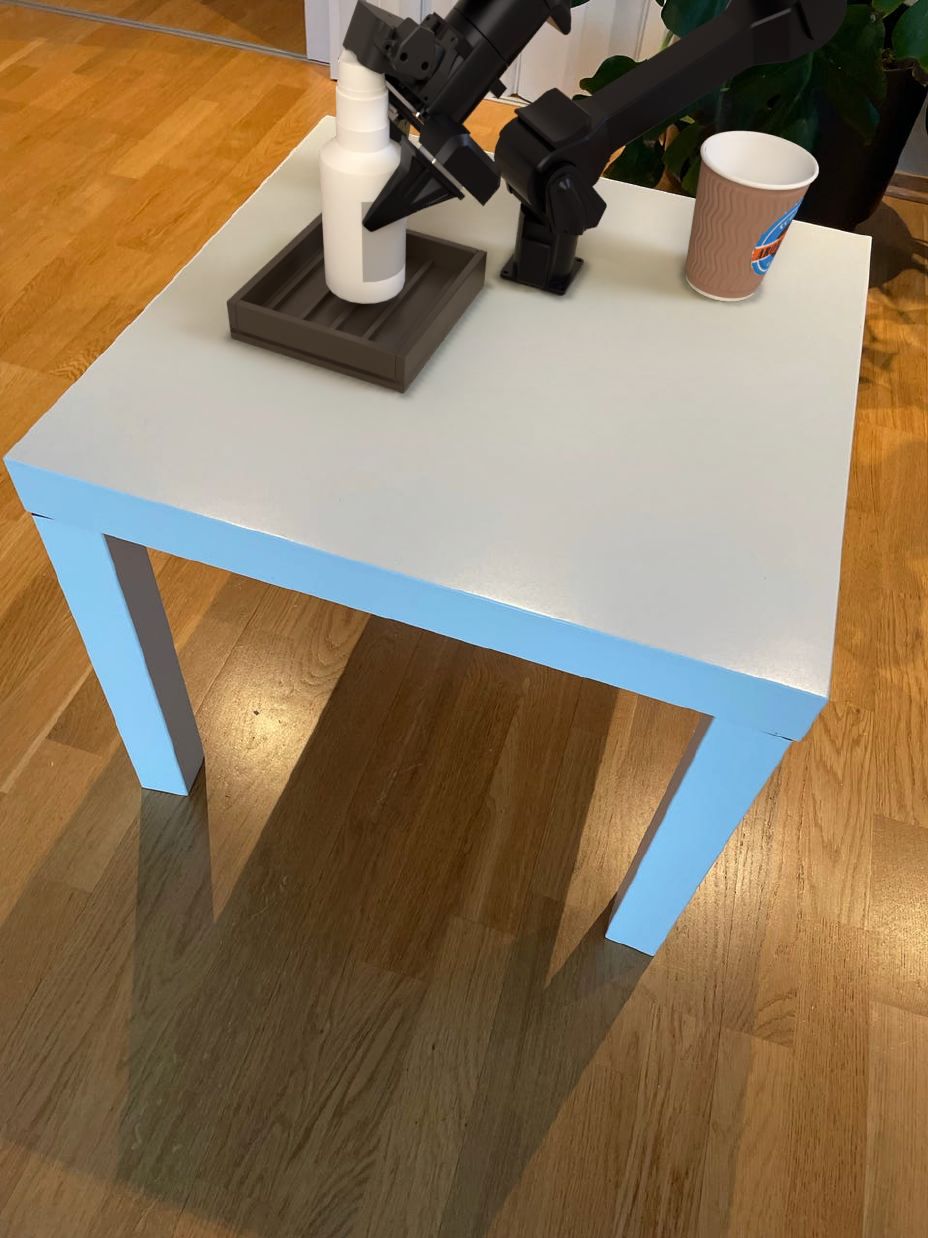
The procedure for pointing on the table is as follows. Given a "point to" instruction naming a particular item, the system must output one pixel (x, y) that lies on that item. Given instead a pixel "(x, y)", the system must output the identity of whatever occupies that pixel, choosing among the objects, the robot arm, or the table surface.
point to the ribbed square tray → (358, 309)
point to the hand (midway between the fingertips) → (348, 206)
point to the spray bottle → (360, 190)
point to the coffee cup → (743, 210)
